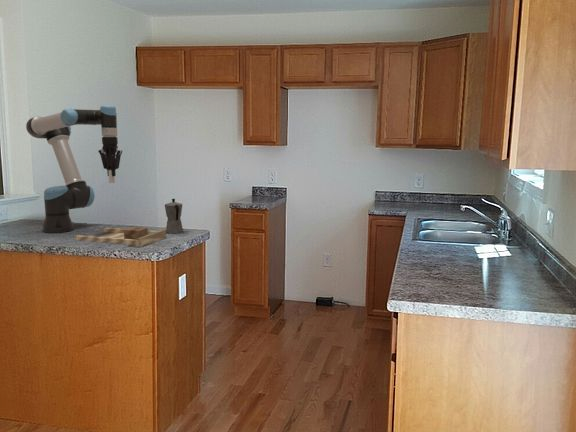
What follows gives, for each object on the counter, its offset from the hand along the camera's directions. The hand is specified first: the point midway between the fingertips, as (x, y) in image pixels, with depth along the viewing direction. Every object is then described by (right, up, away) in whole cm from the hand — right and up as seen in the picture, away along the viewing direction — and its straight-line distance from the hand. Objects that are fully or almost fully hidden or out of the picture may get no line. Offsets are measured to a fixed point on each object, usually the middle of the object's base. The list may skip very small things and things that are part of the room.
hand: (111, 182), depth 275 cm
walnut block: (+17, -28, -16) cm, 37 cm away
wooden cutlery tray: (+9, -29, -13) cm, 33 cm away
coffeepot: (+32, -26, +5) cm, 41 cm away
